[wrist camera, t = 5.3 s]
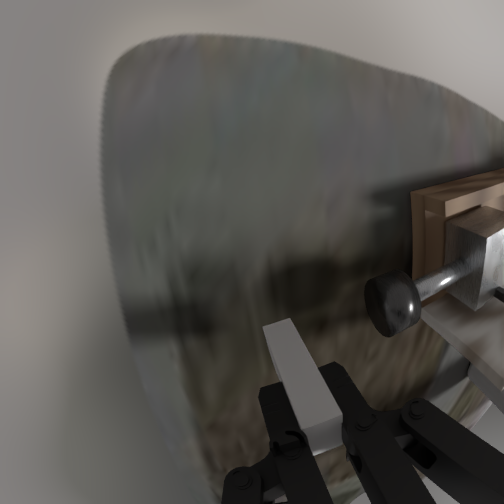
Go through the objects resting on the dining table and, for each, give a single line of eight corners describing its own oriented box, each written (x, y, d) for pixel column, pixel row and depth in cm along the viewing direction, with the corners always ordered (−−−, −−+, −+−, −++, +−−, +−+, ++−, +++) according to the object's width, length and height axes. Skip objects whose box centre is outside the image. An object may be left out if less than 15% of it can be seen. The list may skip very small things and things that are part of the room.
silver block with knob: (363, 326, 17) (443, 421, 9) (360, 253, 15) (478, 341, 7) (481, 264, 18) (553, 308, 10) (485, 205, 16) (570, 239, 8)
